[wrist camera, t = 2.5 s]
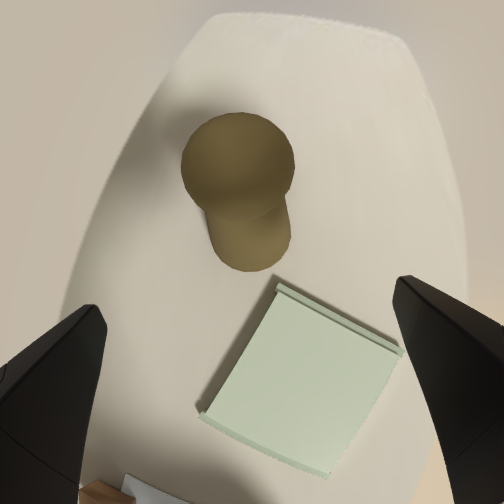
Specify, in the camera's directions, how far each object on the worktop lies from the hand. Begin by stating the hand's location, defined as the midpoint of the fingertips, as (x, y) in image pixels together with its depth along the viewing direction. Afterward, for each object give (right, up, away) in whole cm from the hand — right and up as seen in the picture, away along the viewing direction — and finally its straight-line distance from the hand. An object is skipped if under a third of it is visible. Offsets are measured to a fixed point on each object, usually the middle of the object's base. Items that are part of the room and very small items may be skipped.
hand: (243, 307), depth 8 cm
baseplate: (+4, -8, +11) cm, 14 cm away
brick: (-12, -21, +8) cm, 25 cm away
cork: (0, +3, +14) cm, 14 cm away
